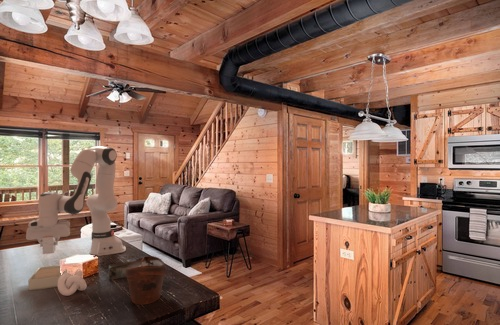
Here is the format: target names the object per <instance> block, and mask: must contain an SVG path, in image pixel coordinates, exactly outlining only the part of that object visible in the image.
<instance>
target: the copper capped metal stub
mask: <svg viewBox="0 0 500 325" xmlns="http://www.w3.org/2000/svg"><path fill="white" fill-rule="evenodd" d="M41 241H42V247H41V248H42V255H47V254H54V253H55V252H56V248H57V247H56V246H57V245H54V242H56V237H55V238H53V236H47V237H43V238H42V240H41Z"/></svg>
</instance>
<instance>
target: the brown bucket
mask: <svg viewBox="0 0 500 325" xmlns="http://www.w3.org/2000/svg"><path fill="white" fill-rule="evenodd" d="M133 261H134V262H133V263H131V264H130V265H129V266H128V267H127V269H126V274H125V277H124V278H126V280H127V284H126V285H125V287H127V289H128V291H129V296H130V299H131V303H133V304H135V305H142V306H143V305H149V304H152V303H154V302H157V301H158V300H159V299H160V298H161V296H162V289H163V284H164V279H165V275H167V274H168V272H167V266H166V264H165V263H164V261H163V260H162V259H161V258H159V257H158V256H153V255H148V256H147V255H146V256H142V257H140V258H138V259H136V260H133Z"/></svg>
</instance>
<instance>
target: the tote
mask: <svg viewBox="0 0 500 325" xmlns="http://www.w3.org/2000/svg"><path fill="white" fill-rule="evenodd" d="M60 265H61V264H59V265H49V266H48V265H47V266H39V267H38V268H37V269H36V271H35V272H34V273H33V274H32V275H31V277H30V278H28V283H27V285H28V286H27V287H28V291H36V290H45V289H52V288H58V286H57V284H58V279H59V278H60V276H61V273H60V276H57V277H49V278H40V279H36V274H37V272H38V271H39V270H42V269H51V268H59V269H60ZM65 273H67V269H65V271H64V272H63V274H65ZM63 274H62V275H63Z"/></svg>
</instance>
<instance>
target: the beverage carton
mask: <svg viewBox="0 0 500 325" xmlns="http://www.w3.org/2000/svg"><path fill="white" fill-rule="evenodd" d="M134 261H135V260H132V261H127V262H120V263H119V262H118V263H112V264H111V263H110V264H109V265H108V280H115V279H122V278H123V279H125V278H126V277H125V274H126V269H127V267H128V266H129V265H130V264H131V263H133V262H134Z"/></svg>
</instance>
